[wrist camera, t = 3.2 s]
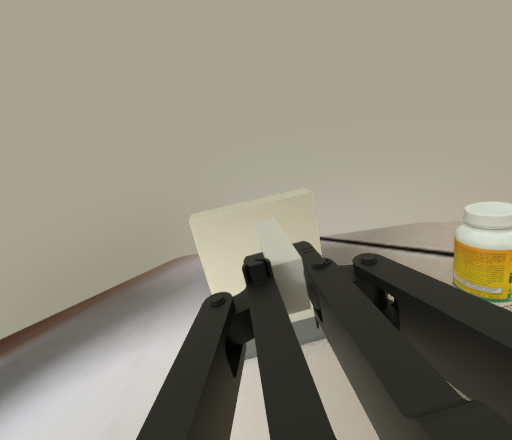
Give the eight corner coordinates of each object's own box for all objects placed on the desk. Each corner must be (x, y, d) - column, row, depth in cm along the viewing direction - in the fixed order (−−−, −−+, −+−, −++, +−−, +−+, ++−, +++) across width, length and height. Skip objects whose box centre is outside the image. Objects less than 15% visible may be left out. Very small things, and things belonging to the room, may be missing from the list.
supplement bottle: (458, 273, 31) (462, 198, 28) (522, 286, 27) (534, 200, 24) (447, 297, 27) (449, 215, 24) (517, 316, 23) (530, 220, 21)
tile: (330, 312, 28) (313, 191, 24) (225, 339, 28) (188, 221, 23) (322, 299, 31) (305, 187, 26) (225, 324, 30) (191, 214, 26)
